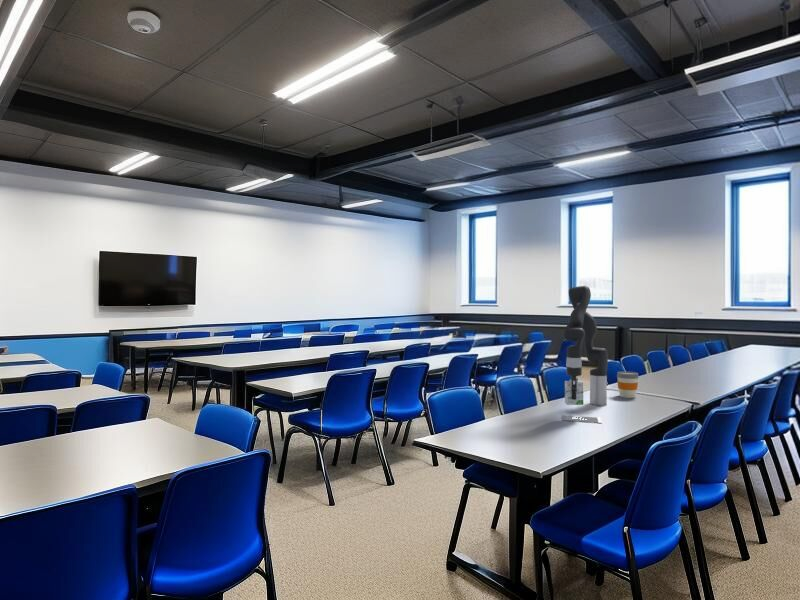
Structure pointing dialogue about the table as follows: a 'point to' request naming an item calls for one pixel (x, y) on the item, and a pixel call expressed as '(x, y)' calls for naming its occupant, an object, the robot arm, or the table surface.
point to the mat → (589, 419)
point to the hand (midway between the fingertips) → (573, 398)
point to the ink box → (569, 394)
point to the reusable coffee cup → (627, 384)
